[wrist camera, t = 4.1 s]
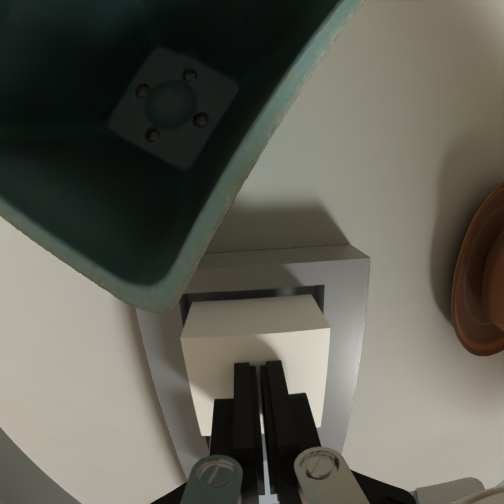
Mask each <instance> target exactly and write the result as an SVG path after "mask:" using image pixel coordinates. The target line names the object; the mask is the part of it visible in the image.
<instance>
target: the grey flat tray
mask: <svg viewBox="0 0 504 504" xmlns="http://www.w3.org/2000/svg"><path fill="white" fill-rule="evenodd" d="M369 270H370V257H368V256H367V255H365V254H364V253H362V252H361V251H360V250H358V249H357V248H355V247H354V246H352V245H336V246H319V247H303V248H286V249H270V250H253V251H237V252H220V253H204V255H203V257H202V258H201V260H200V262H199V264H198V267H197V269H196V271H195V273H194V275H193V277H192V279H191V281H190V283H189V285H188V286H187V288H186V290H185V292H184V293H183V295H182V297H181V298H180V300H179V302H178V303H177V304H176V305H175V307H174V308H173V309H171V310H170V311H168V312H167V313H165V314H157V313H153V312H147V311H144V310H141V309H138V308H136V307H135V309H136V314H137V319H138V323H139V328H140V332H141V336H142V341H143V345H144V349H145V353H146V357H147V361H148V365H149V368H150V372H151V376H152V379H153V383H154V386H155V390H156V393H157V396H158V400H159V403H160V406H161V409H162V412H163V416H164V419H165V422H166V425H167V428H168V431H169V433H170V436H171V439H172V442H173V445H174V447H175V450H176V453H177V456H178V458H179V461H180V463H181V466H182V468H183V471H184V473H185V476H186V478H187V481H188V479H189V476H190V473H191V470H192V468H193V466H194V464H195V463H197V462H198V461H199V460H200V459H202V458H204V457H206V456H209V446H210V436H201V432H200V428H199V424H198V420H197V416H196V411H195V407H194V403H193V398H192V394H191V389H190V385H189V380H188V375H187V370H186V365H185V360H184V355H183V350H182V344H181V339H180V337H181V334H182V331H183V328H184V325H185V322H186V319H187V316H188V313H189V310H190V307H191V304H192V302H199V301H220V300H238V299H254V298H269V297H282V296H295V295H307V294H311V295H312V296H313V298H314V300H315V301H316V303H317V305H318V307H319V308H320V310H321V312H322V314H323V315H324V317H325V319H326V321H327V322H328V324H329V326H330V342H329V355H328V366H327V377H326V386H325V396H324V404H323V412H322V420H321V427H318V428H316V429H317V432H318V436H319V439H320V443H321V446H322V447H328V448H331V449H334V450H335V451H337V452H339V453H340V454H341V453H342V449H343V445H344V441H345V436H346V432H347V428H348V423H349V418H350V414H351V409H352V403H353V398H354V393H355V387H356V382H357V376H358V369H359V363H360V356H361V349H362V342H363V334H364V326H365V317H366V307H367V296H368V284H369Z"/></svg>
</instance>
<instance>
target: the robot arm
mask: <svg viewBox="0 0 504 504" xmlns="http://www.w3.org/2000/svg"><path fill="white" fill-rule="evenodd" d="M260 371H261V392H262V413H263V427H264V437H265V446H266V456H267V466H268V476H269V485H270V494H271V495H273V494H277V500H278V502H279V504H504V486H499V487H494V488H490V489H486V490H485V488H484V486H483V484H482V482H481V481H479V480H478V479H476V478H472V477H469V478H463V479H459V480H455V481H450V482H446V483H442V484H437V485H432V486H427V487H421V488H416V490H415V491H411V492H408V491H406V490H403V489H401V488H398V487H395V486H392V485H389V484H386V483H383V482H380V481H378V480H375V479H372V478H370V477H367V476H365V475H362V474H360V473H357V472H355V471H352V470H350V468H349V467H348V465H347V463H346V461H345V460H344V458H343V457H342V455H341V454H340V453H339V452H337V451H335V450H334V449H331V448H328V447H322V446H321V443H320V439H319V436H318V432H317V429H316V425H315V422H314V418H313V415H312V411H311V408H310V404H309V401H308V398H307V395H306V393H305V392H304V393H296V394H289V393H288V389H287V384H286V379H285V375H284V370H283V366H282V361H281V360H275V361H266V365H261V366H260ZM260 495H265V480H264V461H263V445H262V433H261V422H260V411H259V400H258V389H257V378H256V366H249V362H247V363H234V398H226V399H215V400H214V407H213V418H212V430H211V442H210V454H209V456H206V457H204V458H202V459H200V460H199V461H198V462H197V463H195V464H194V466H193V468H192V470H191V473H190V476H189V479H188V482H186V483H184V484H183V485H181V486H180V487H178V488H176V489H175V490H173V491H171V492H170V493H168V494H166V495H165V496H163V497H161V498H159V499H158V500H156V501H154V502H152V503H151V504H259V496H260Z"/></svg>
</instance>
